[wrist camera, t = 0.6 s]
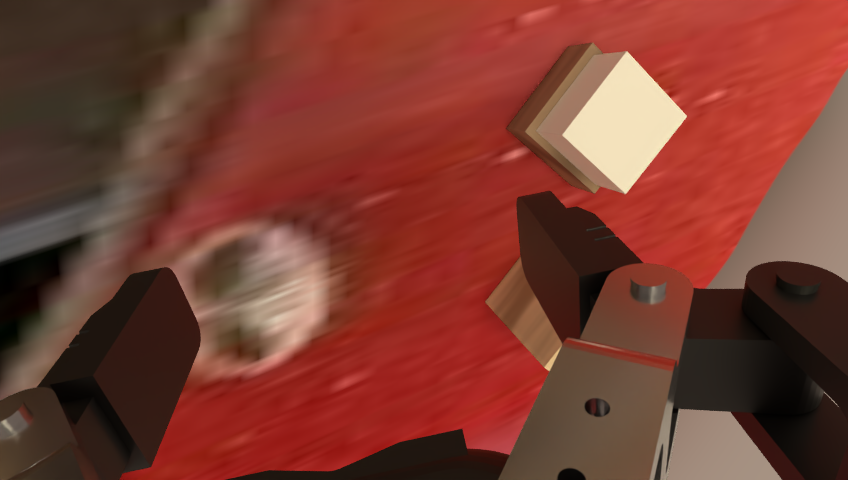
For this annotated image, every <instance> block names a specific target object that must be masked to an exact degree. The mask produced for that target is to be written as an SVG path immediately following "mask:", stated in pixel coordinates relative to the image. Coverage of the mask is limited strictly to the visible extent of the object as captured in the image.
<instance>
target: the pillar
mask: <svg viewBox="0 0 848 480" xmlns="http://www.w3.org/2000/svg"><path fill="white" fill-rule="evenodd" d="M485 303H486V304H487V305H488V306H489V307H490V308H491V309H492V310H493V312H494V313H495V314H496V315H497V316H498V317H499V318H500V319H501V320H502V321H503V323H504V324H505V325H506V326H507V327H508V328H509V329H510V330H511V331H512V332H513V334H514V335H515V336H516V337H517V338H518V339H519V340H520V341H521V342H522V344H523V345H524V346H525V347H526V348H527V349H528V350H529V351H530V352H531V353H532V355H533V356H534V357H535V358H536V359H537V360H538V361H539V362H540V363H541V364H542V366H543V367H544V368H546V369H547V370H549V371H550V369H551V367H552V365H553V363H554V361H555V359H556V357H557V355H558V353H559V350H560V348H561V346H562V342H561V341H560V339H559V337H558V335H557V334H556V332H555V330H554V328H553V326H552V325H551V323H550V321H549V319H548V318H547V316H546V314H545V312H544V310H543V309H542V307H541V305H540V303H539V301H538V300H537V298H536V296H535V294H534V293H533V291H532V289H531V287H530V285H529V284H528V282H527V280H526V277H525V274H524V271H523V267H522V262H521V256H520V258H519V259H518V260H517V261H516V263H515V264H514V265H513V267H512V268H511V269H510V270H509V272H508V273H507V274H506V276H505V277H504V278H503V279H502V281H501V282H500V283H499V285H498V286H497V287H496V289H495V290H494V291H493V292H492V294H491V295H490V296H489V298H488V299H487V300H486V301H485Z"/></svg>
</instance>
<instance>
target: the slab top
mask: <svg viewBox="0 0 848 480" xmlns="http://www.w3.org/2000/svg"><path fill="white" fill-rule="evenodd" d="M686 117H687V116H686V115H685V114H684V113H683V111H682V110H681V109H680V108H679V107H678V106H677V105H676V104H675V103H674V102H673V101H672V100H671V98H670V97H669V96H668V95H667V94H666V93H665V92H664V91H663V90H662V89H661V88H660V87H659V85H658V84H657V83H656V82H655V81H654V80H653V79H652V78H651V77H650V76H649V75H648V74H647V72H646V71H645V70H644V69H643V68H642V67H641V66H640V65H639V64H638V63H637V62H636V61H635V59H634V58H633V57H632V56H631V55H630V54H629V53H628V52H627V51H624V52H616V53H608V54H599V55H594V56H593V57H592V58H591V59H590V61H589V62H588V63H587V65H586V66H585V67H584V69H583V70H582V71H581V73H580V74H579V75H578V76H577V78H576V79H575V80H574V82H573V83H572V84H571V86H570V87H569V88H568V90H567V91H566V92H565V93H564V95H563V96H562V97H561V99H560V100H559V101H558V103H557V104H556V105H555V106H554V108H553V109H552V110H551V112H550V113H549V114H548V116H547V117H546V118H545V120H544V121H543V122H542V123H541V125H540V126H539V127H538V129H537V130H536V131H537V132H538V133H539V134H540V135H541V136H542V137H543V138H544V139H545V140H547V141H548V142H549V143H550V144H551V145H552V146H553V147H554V148H555V149H556V150H558V151H559V152H560V153H561V154H562V155H563V156H564V157H565V158H566V159H568V160H569V161H570V162H571V163H572V164H573V165H574V166H575V167H576V168H577V169H579V170H580V171H581V172H582V173H583V174H584V175H585V176H586V177H587V178H589V179H590V180H591V181H592V182H593V183H594V184H595V185H598V186H602V187H605V188H608V189H611V190H614V191H618V192H621V193H624V194H626V193H627V192H628V190H629V189H630V188H631V187H632V185H633V184H634V183H635V182H636V180H637V179H638V178H639V177H640V175H641V174H642V173H643V172H644V170H645V169H646V168H647V166H648V165H649V164H650V163H651V161H652V160H653V159H654V158H655V156H656V155H657V154H658V153H659V151H660V150H661V149H662V148H663V146H664V145H665V144H666V142H667V141H668V140H669V139H670V137H671V136H672V135H673V134H674V132H675V131H676V130H677V129H678V127H679V126H680V125H681V124H682V122H683V121H684V120H685V119H686Z"/></svg>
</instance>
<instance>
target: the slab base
mask: <svg viewBox="0 0 848 480" xmlns="http://www.w3.org/2000/svg"><path fill="white" fill-rule="evenodd" d="M599 54H603V53H602V52H601V51H600V50H599V49H598V48H597V47H596V46H595V44H594V43H587V44H581V45H575V46H568V47H567V48H566V50H565V51H564V52H563V54H562V55H561V56H560V58H559V59H558V60H557V62H556V63H555V64H554V66H553V67H552V68H551V70H550V71H549V72H548V74H547V75H546V76H545V78H544V79H543V80H542V82H541V83H540V84H539V86H538V87H537V88H536V89H535V91H534V92H533V93H532V95H531V96H530V97H529V99H528V100H527V101H526V103H525V104H524V105H523V107H522V108H521V109H520V111H519V112H518V113H517V115H516V116H515V117H514V119H513V120H512V121H511V123H510V124H509V125H508V127H507V128H506V129H507V130H509V131H510V132H511V133H512V134H513V135H514V136H515V137H517V138H518V139H519V140H520V141H521V142H522V143H523V144H524V145H526V146H527V147H528V148H529V149H530V150H531V151H532V152H534V153H535V154H536V155H537V156H538V157H539V158H540V159H542V160H543V161H544V162H545V163H546V164H547V165H548V166H550V167H551V168H552V169H553V170H554V171H555V172H556V173H558V174H559V175H560V176H561V177H562V178H563V179H564V180H566V181H567V182H568V183H569V184H570V185H571V186H574V187H577V188H579V189H582V190H585V191H588V192H591V193H594V194H595V193H596V191H597V190H598V189H599V187H600V186H598V185H595V184H594V183H593V182H592V181H591V180H590V179H589V178H587V177H586V176H585V175H584V174H583V173H582V172H581V171H580V170H579V169H577V168H576V167H575V166H574V165H573V164H572V163H571V162H570V161H569V160H568V159H566V158H565V157H564V156H563V155H562V154H561V153H560V152H559V151H558V150H556V149H555V148H554V147H553V146H552V145H551V144H550V143H549V142H548V141H547V140H545V139H544V138H543V137H542V136H541V135H540V134H539V133H538V132H537V131H536V130H537V129H538V127H539V126H540V125H541V123H542V122H543V121H544V120H545V118H546V117H547V116H548V114H549V113H550V112H551V110H552V109H553V108H554V106H555V105H556V104H557V103H558V101H559V100H560V99H561V97H562V96H563V95H564V93H565V92H566V91H567V90H568V88H569V87H570V86H571V84H572V83H573V82H574V80H575V79H576V78H577V76H578V75H579V74H580V73H581V71H582V70H583V69H584V67H585V66H586V65H587V63H588V62H589V61H590V59H591V58H592V57H593V56H594V55H599Z"/></svg>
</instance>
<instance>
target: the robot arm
mask: <svg viewBox="0 0 848 480" xmlns="http://www.w3.org/2000/svg"><path fill="white" fill-rule="evenodd" d="M517 219H518V231H519V243H520V255H521V262H522V267H523V271H524V274H525V277H526V280H527V282H528V284H529V285H530V287H531V289H532V291H533V293H534V294H535V296H536V298H537V300H538V301H539V303H540V305H541V307H542V309H543V310H544V312H545V314H546V316H547V318H548V319H549V321H550V323H551V325H552V326H553V328H554V330H555V332H556V334H557V335H558V337H559V339H560V341H561V342H562V346H561V348H560V350H559V353H558V355H557V357H556V359H555V361H554V363H553V365H552V367H551V369H550V372H549V374H548V376H547V378H546V380H545V382H544V384H543V386H542V388H541V390H540V393H539V395H538V397H537V399H536V401H535V403H534V405H533V407H532V409H531V412H530V414H529V416H528V418H527V420H526V422H525V424H524V426H523V428H522V430H521V433H520V435H519V437H518V439H517V441H516V443H515V445H514V447H513V449H512V451H511V454H510V455H508V454H504V453H500V452H496V451H489V450H482V449H467V447H466V443H465V439H464V435H463V431H462V429H459V430H454V431H450V432H445V433H440V434H436V435H431V436H426V437H422V438H417V439H413V440H408V441H403V442H399V443H397V444H395V445H392V446H390V447H388V448H386V449H383V450H381V451H379V452H377V453H374V454H372V455H370V456H368V457H365V458H363V459H361V460H359V461H356V462H354V463H352V464H350V465H347V466H345V467H343V468H341V469H338V470H335V471H272V470H268V471H264V472H259V473H254V474H250V475H245V476H240V477H236V478H231V479H226V480H667V478H668V472H669V467H670V462H671V456H672V451H673V445H674V440H675V435H676V430H677V424H678V419H679V414H680V409H693V410H710V411H729V412H731V413H732V415H733V416H734V417H735V419H736V420H737V421H738V422H739V424H740V425H741V426H742V428H743V429H744V430H745V431H746V433H747V434H748V436H749V437H750V438H751V439H752V441H753V442H754V443H755V445H756V446H757V447H758V448H759V450H760V451H761V453H762V454H763V455H764V456H765V458H766V459H767V460H768V462H769V463H770V464H771V466H772V467H773V468H774V469H775V471H776V472H777V473H778V475H779V476H780V477H781V479H782V480H848V282H846V281H845V280H843V279H842V278H841V277H839V276H837V275H836V274H834V273H832V272H830V271H828V270H825V269H823V268H820V267H817V266H813V265H809V264H804V263H799V262H788V261H776V262H768V263H764V264H760V265H758V266H755V267H754V268H752V269H751V270H750V271H749V272H748V273H747V275H746V281H745V287H744V289H698V288H693V285H692V283H691V281H690V280H689V279H688V278H687V277H686V276H685V275H684V274H682V273H681V272H679V271H677V270H675V269H672V268H670V267H666V266H663V265H657V264H649V263H643V262H642V261H641V260H640V259H639V258H638V257H637V256H636V255H635V254H634V253H633V252H632V251H631V250H630V249H629V248H628V247H627V246H626V245H625V244H624V243H623V242H622V241H621V240H620V239H619V238H618V237H615V234H614V233H613V232H612V231H611V230H610V229H609V228H606V225H605V224H604V223H603V222H602V221H601V220H600V219H599V218H598V217H597V216H596V215H595V214H593V213H591V212H589V211H586V210H584V209H582V208H579V207H577V206H576V207H571V208H567V209H566V207H565V206H564V205H563V204H562V203H561V202H560V201H559V200H558V199H557V197H556V196H555V195H554V194H553V193H552V192H551V191H546V192H541V193H536V194H531V195H526V196H521V197H518V198H517ZM79 333H80V334H79V335H76V336H75V338H74V339H73V340H72V342H71V343H70V344H69V348H67V349H66V350H65V351H64V352H63V354H62V355H61V356H60V358H59V359H58V360H57V362H56V363H55V364H54V365H53V367H52V368H51V369H50V371H49V372H48V373H47V375H46V376H45V377H44V379H43V380H42V381H41V383H40V384H39V385H38V387H36V388H31V389H26V390H23V391H20V392H18V393H15V394H13V395H10V396H8V397H6V398H4V399H2V400H0V480H120V477H121V475H122V473H126V472H130V471H135V470H140V469H144V468H149V467H151V466H152V463H153V461H154V458H155V456H156V454H157V451H158V449H159V446H160V444H161V441H162V439H163V436H164V434H165V431H166V429H167V426H168V424H169V422H170V419H171V417H172V414H173V412H174V409H175V407H176V404H177V402H178V399H179V397H180V395H181V392H182V390H183V387H184V385H185V382H186V380H187V377H188V375H189V372H190V370H191V368H192V365H193V363H194V360H195V358H196V355H197V353H198V350H199V347H200V341H201V337H200V329H199V325H198V322H197V320H196V318H195V315H194V313H193V311H192V309H191V307H190V305H189V303H188V301H187V299H186V296H185V294H184V292H183V290H182V288H181V286H180V284H179V282H178V279H177V277H176V275H175V274H174V272H173V271H172V270H171V269H170V268H167V267H164V268H159V269H154V270H149V271H144V272H139V273H134V274H131V275H130V276H129V277H128V278H127V280H126V281H125V282H124V284H123V285H122V286H121V288H120V289H119V290H118V292H117V293H116V295H115V296H114V297H113V299H112V300H110V301H109V302H108V303H107V304H105V305H104V306H103V307H102V308H100V309H99V310H98V311H97V312H95V313H94V314H93V315H91V317H90V318H89V319H88V321H87V322H86V323H85V325H84V326H83V327H82V329H81V330H80V331H79ZM824 392H825V393H826V394H828V395H829V396H830V397H831V398H832V399H833V400H834V401H835V403H836V404H837V405H838V406H839V407H840V408H839V407H838V406H837V405H836V404H835V403H834V402H833V401H832V400H831V399H830V398H829V397H828V396H827V395H826V394H825V393H824Z"/></svg>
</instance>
